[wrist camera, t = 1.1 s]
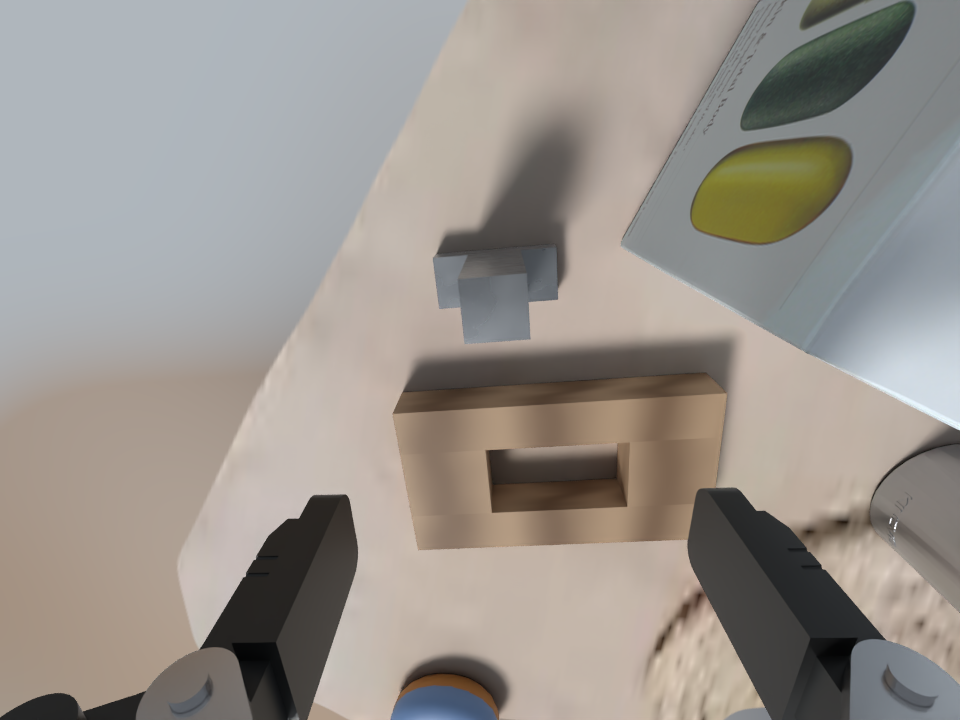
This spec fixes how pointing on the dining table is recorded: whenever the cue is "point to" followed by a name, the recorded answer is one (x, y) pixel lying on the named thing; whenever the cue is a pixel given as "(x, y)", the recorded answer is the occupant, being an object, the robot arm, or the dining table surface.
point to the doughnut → (444, 700)
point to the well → (560, 422)
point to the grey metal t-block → (496, 288)
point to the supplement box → (829, 191)
